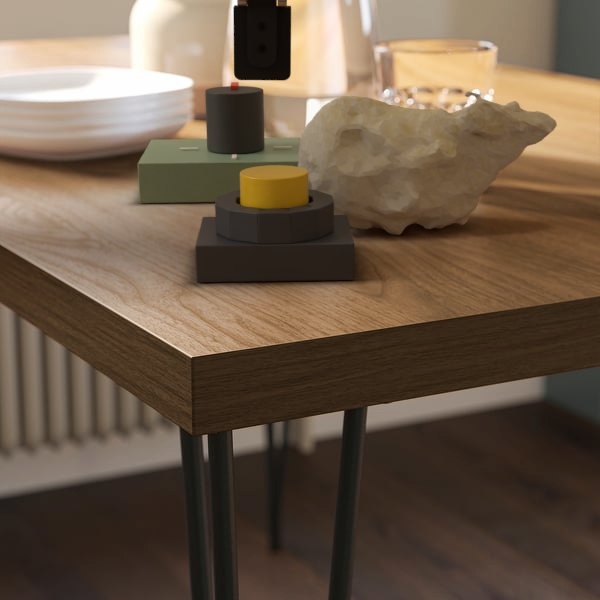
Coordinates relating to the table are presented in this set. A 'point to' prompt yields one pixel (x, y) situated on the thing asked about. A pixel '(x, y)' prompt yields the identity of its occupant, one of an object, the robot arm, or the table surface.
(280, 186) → the trigger button
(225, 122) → the dial
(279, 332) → the table surface
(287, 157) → the dial panel
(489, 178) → the cream lumpy rock
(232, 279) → the button housing
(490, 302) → the table surface
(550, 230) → the table surface
